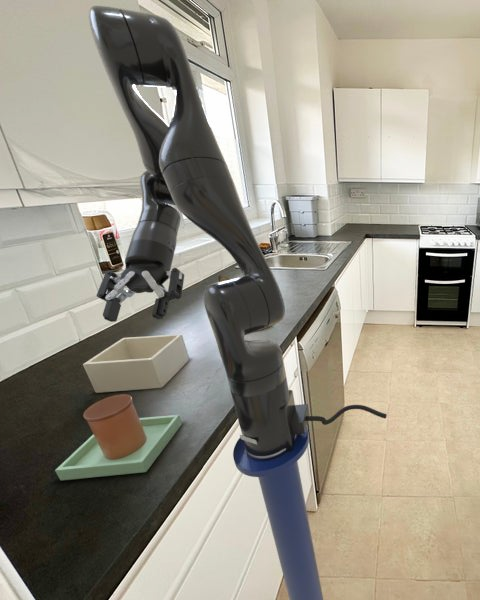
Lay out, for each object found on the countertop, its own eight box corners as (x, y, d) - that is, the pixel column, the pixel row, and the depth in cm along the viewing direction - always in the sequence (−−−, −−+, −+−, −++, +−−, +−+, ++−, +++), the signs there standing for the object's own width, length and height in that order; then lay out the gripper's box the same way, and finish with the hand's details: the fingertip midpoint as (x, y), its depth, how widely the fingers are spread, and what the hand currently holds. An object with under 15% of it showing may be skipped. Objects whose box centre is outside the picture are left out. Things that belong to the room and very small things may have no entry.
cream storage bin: (189, 359, 85) (182, 334, 83) (162, 387, 74) (151, 359, 71) (132, 363, 84) (123, 337, 81) (95, 393, 72) (82, 364, 70)
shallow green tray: (182, 423, 63) (179, 414, 62) (146, 472, 52) (141, 462, 51) (111, 429, 61) (107, 420, 61) (60, 480, 51) (54, 470, 50)
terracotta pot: (155, 431, 60) (140, 392, 57) (132, 458, 54) (114, 417, 51) (120, 434, 59) (102, 395, 56) (93, 462, 53) (72, 420, 50)
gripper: (102, 239, 62) (76, 314, 56) (178, 236, 64) (160, 310, 57) (129, 258, 69) (109, 327, 63) (197, 256, 71) (183, 323, 64)
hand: (133, 319), depth 60 cm, fingers open, 8 cm apart
